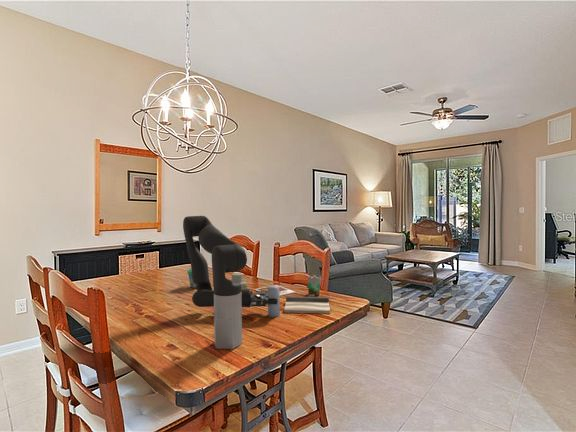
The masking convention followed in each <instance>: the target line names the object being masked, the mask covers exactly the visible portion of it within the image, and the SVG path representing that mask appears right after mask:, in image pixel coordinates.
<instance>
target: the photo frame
mask: <svg viewBox="0 0 576 432" xmlns="http://www.w3.org/2000/svg"><path fill="white" fill-rule="evenodd" d="M275 286H279V289H283V290H281V291H280V297H282V296H286V295H290V294H296V291H295V290H292V289H289V288H286V287H284V286H280V285H278V284H275ZM262 289H268V286H265V287H264V286H263V287H259V288H254V290H255V291H256V292H257V291H261V290H262Z"/></svg>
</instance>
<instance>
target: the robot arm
mask: <svg viewBox="0 0 576 432" xmlns="http://www.w3.org/2000/svg"><path fill="white" fill-rule="evenodd" d="M182 229H183V236H184V239H185V243H186V248H187V249H186V250H187V253H188V257H189V262H190V269H191V270H192V279H193V283H194V284H196V288H195V289H196V291H195V292H194V293H193V294H192V298H191V302H192V303H193V305H194V306H196V307H197V308H198V307H200V308H208V307H209V308H210V307H213V328H214V329H213V331H214V332H213V334H214V346H215V349H219V350H221V349H224V350H230V349H231V350H234V349H235V348H236V347H239V346H240V345H242V343H243V308H251V307H267V306H268V304H277V303H278V300H277V299H268V290H267V291H266V290H262V291H261V290H260V291H256V293H253V290H252V288H250V289H248V288H247V289H241V284H240V283H239V282H237V281H232V279H228V278H226V274H227V273H233V272H234V273H237V272H239V271H243V270H244V269H245V268H246V266H247V264H248V258H247V253H246V250H245V249H244V247H243V246H242V244H241V245H240V244H239V243H237V242H235V241H233V240H232V239H230V238H229V237H227V236H226V234H224V233H223V232H222V231H220V230H219V229H218V228H217V227H216V226H215V225H213V223H212V222H211V220H210V219H209V218H208V217H207V216H205V215H194V216H193V215H190V216H189V215H188V216H185V217H184V218H183V222H182ZM196 237H198V243H199V245H200V247H201V248H202V249H203V250H204V251H205V252H207V253H209V254H210V255H211V267H212V268H211V269H212V271H211V272H212V284H211V281H210V273H209V266H208V261H207V259H206V258H205V257H204V255H203V254H202V253H201V251H200V250H199V249H198V247H197V245H196V243H195V240H194V238H196Z"/></svg>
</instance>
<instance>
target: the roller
mask: <svg viewBox="0 0 576 432" xmlns="http://www.w3.org/2000/svg"><path fill="white" fill-rule="evenodd" d="M275 285H276V284H275ZM275 285H268V286H267V287H268V288H267V291H268V299H277V300H278V303H277V304H268V305H267V316H268V317H269V318H270V317H271V318H276V317H277V318H278V317H280V314H281V313H280V312H281V309H280V305H281V304H280V303H281V302H280V301H281V299H280V298H281V296H280V287H279V286H280V285H278V286H275Z"/></svg>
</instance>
